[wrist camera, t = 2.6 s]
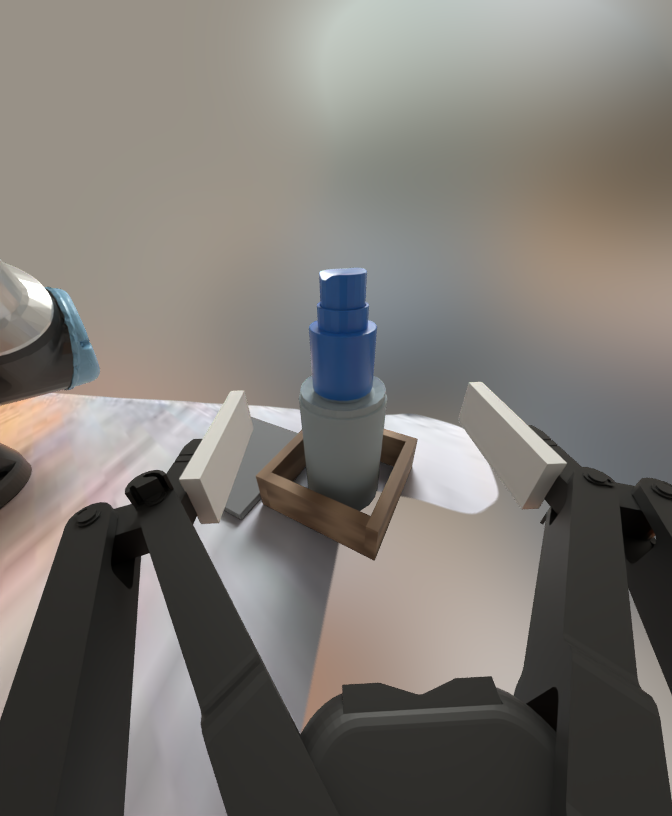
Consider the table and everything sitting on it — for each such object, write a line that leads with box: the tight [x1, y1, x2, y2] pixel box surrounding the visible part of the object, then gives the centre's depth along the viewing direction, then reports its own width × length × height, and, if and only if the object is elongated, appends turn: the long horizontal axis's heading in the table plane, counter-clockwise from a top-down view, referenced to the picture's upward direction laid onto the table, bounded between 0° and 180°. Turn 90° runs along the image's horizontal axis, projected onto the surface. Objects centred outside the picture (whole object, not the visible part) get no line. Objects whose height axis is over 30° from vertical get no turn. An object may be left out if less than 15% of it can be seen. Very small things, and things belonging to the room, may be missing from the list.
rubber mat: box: [224, 417, 298, 520], centre depth 39 cm, size 13×15×1 cm
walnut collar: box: [256, 429, 418, 560], centre depth 34 cm, size 14×14×5 cm
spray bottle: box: [299, 268, 387, 511], centre depth 28 cm, size 9×9×25 cm
